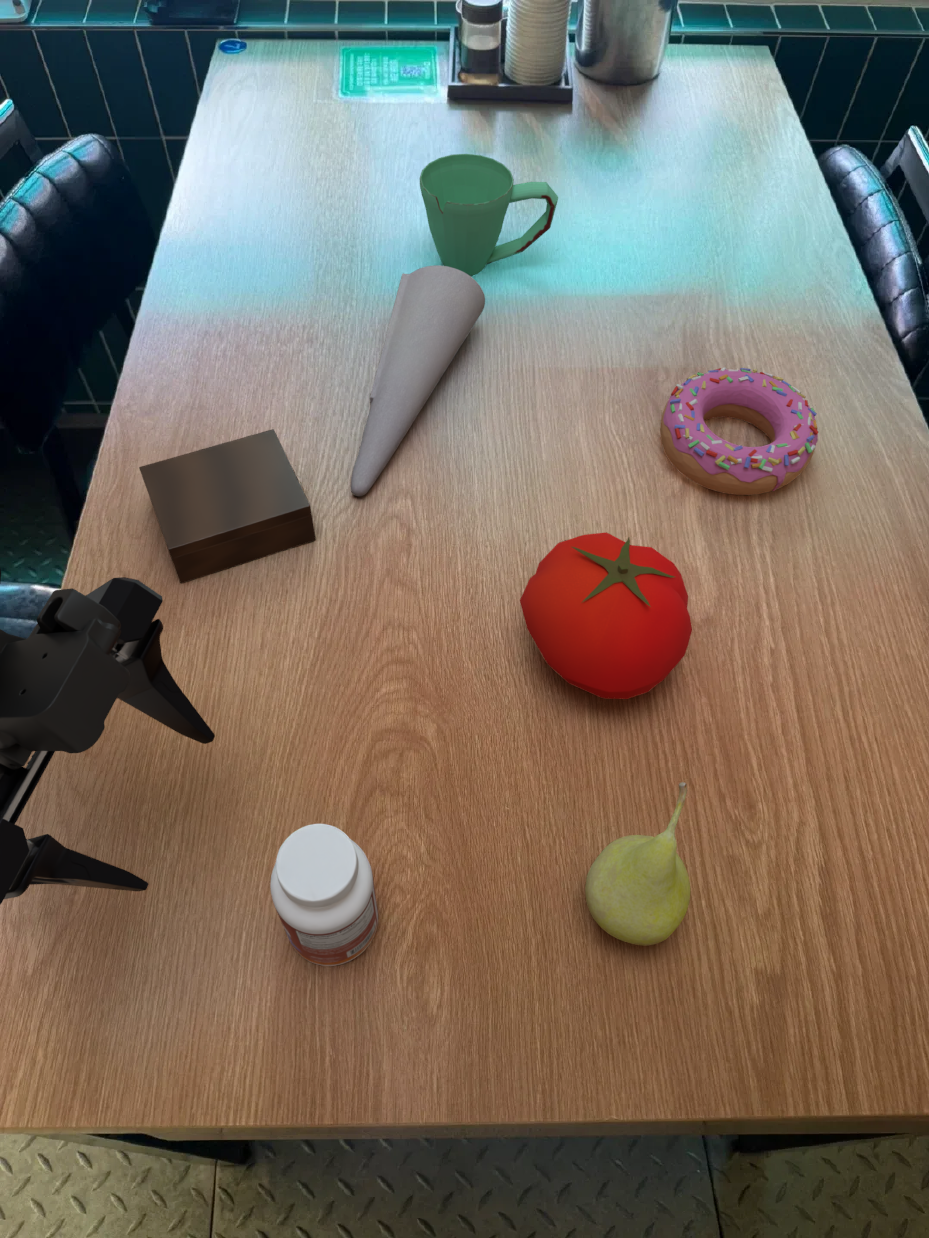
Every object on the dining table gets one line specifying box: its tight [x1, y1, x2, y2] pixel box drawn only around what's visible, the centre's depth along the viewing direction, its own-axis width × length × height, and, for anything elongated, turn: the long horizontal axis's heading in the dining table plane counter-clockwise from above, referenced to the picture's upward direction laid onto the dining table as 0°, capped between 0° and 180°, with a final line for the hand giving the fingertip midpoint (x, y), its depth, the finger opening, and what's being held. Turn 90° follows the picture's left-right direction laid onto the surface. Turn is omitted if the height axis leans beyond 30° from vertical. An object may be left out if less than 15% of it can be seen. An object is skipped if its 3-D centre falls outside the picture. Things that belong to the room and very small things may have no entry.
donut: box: [659, 366, 819, 496], centre depth 88 cm, size 14×14×5 cm
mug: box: [419, 153, 559, 277], centre depth 103 cm, size 15×10×10 cm
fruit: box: [584, 781, 691, 947], centre depth 60 cm, size 7×8×12 cm
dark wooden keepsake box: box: [139, 428, 317, 584], centre depth 82 cm, size 12×10×4 cm
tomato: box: [519, 531, 693, 700], centre depth 72 cm, size 13×12×11 cm
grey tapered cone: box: [350, 264, 486, 497], centre depth 91 cm, size 8×9×26 cm
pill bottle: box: [269, 823, 379, 967], centre depth 59 cm, size 6×6×11 cm
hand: (178, 810), depth 53 cm, fingers open, 9 cm apart
